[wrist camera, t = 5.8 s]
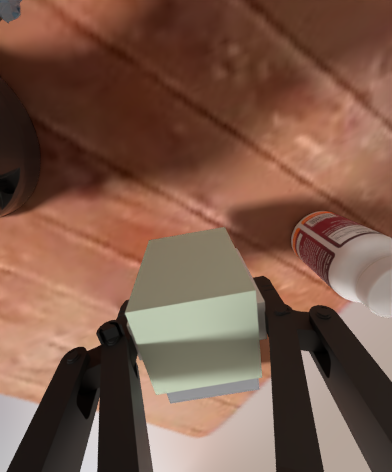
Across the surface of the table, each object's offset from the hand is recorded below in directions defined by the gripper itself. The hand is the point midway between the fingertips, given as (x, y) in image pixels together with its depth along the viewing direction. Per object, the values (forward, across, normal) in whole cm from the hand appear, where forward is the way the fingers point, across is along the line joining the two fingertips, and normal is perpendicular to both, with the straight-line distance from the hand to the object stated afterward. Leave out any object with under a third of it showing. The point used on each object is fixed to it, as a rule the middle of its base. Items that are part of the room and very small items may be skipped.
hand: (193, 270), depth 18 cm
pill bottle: (+7, +14, -3) cm, 16 cm away
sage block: (0, 0, 0) cm, 0 cm away
